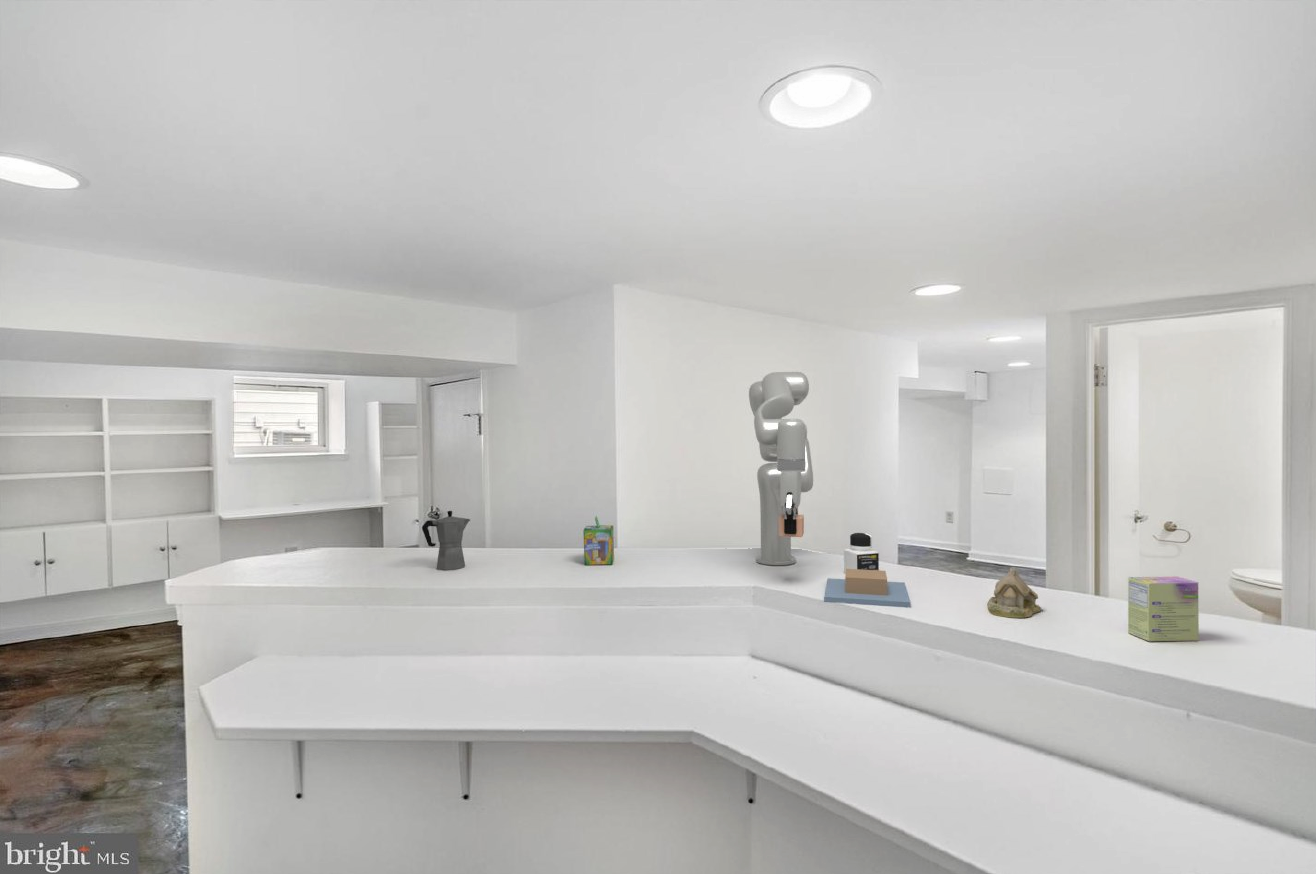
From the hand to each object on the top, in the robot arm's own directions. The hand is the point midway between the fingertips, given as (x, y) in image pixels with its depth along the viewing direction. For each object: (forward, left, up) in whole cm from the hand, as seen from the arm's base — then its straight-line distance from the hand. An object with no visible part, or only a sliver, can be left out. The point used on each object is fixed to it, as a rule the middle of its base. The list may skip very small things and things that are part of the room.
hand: (791, 530), depth 177 cm
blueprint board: (+5, +19, -15) cm, 25 cm away
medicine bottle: (-17, +18, -15) cm, 29 cm away
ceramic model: (+11, +52, -15) cm, 55 cm away
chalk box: (-15, -63, -15) cm, 66 cm away
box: (+25, +76, -15) cm, 81 cm away
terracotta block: (0, 0, -1) cm, 1 cm away
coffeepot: (+4, -107, -15) cm, 108 cm away
